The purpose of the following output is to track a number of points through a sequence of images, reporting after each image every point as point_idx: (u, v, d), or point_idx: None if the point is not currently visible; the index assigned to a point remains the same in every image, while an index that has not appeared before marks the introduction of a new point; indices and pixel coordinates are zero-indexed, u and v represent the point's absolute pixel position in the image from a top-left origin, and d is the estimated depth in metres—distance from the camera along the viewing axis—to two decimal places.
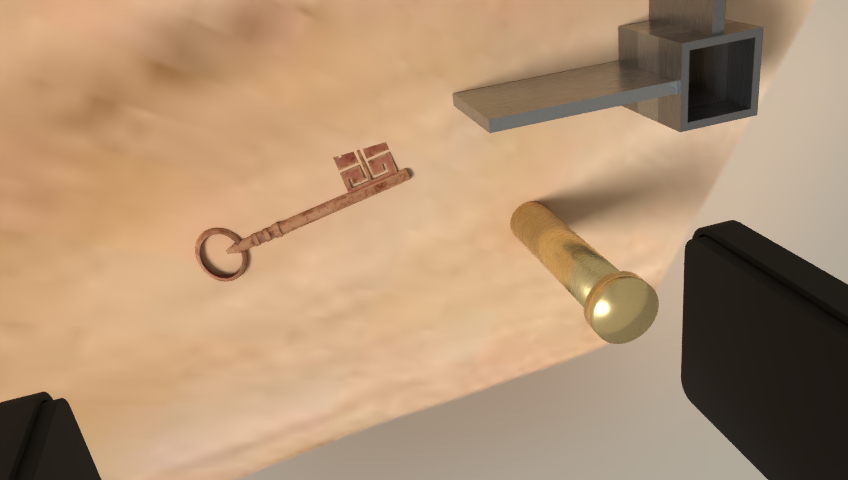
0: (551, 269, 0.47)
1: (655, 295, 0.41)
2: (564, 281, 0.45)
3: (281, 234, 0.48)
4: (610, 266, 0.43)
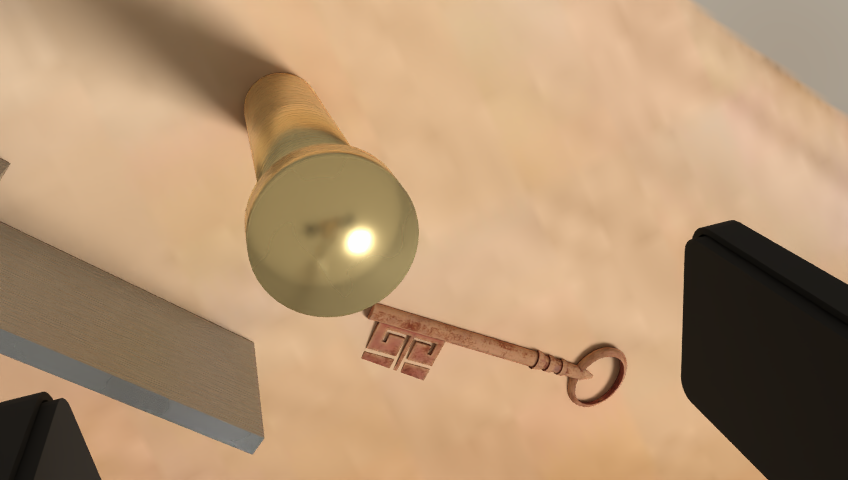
0: None
1: (253, 224, 0.16)
2: None
3: (539, 359, 0.37)
4: None
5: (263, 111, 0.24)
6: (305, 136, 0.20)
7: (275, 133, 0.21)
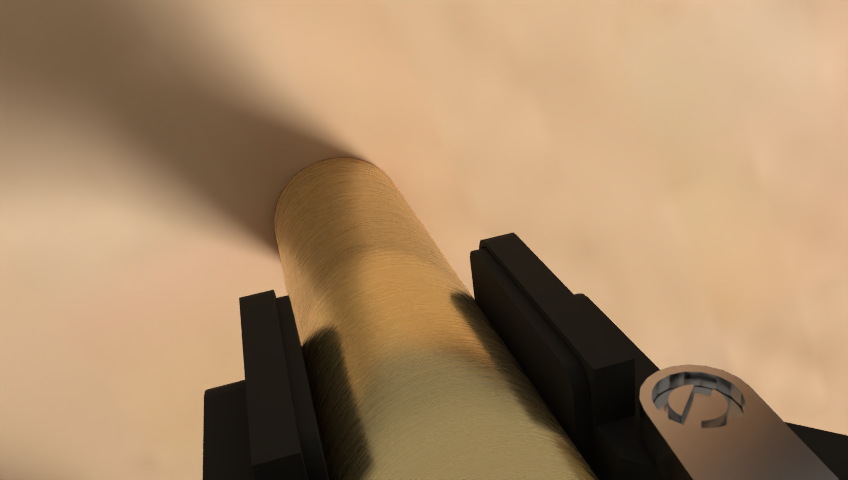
0: None
1: None
2: None
3: None
4: None
5: (327, 278, 0.12)
6: (477, 452, 0.07)
7: (378, 396, 0.09)
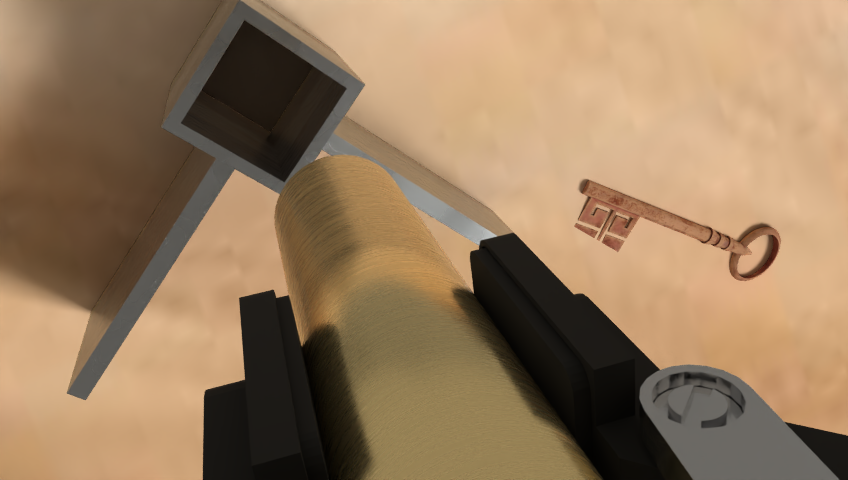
0: None
1: None
2: None
3: (712, 234, 0.44)
4: None
5: (327, 274, 0.11)
6: (478, 446, 0.07)
7: (379, 391, 0.09)
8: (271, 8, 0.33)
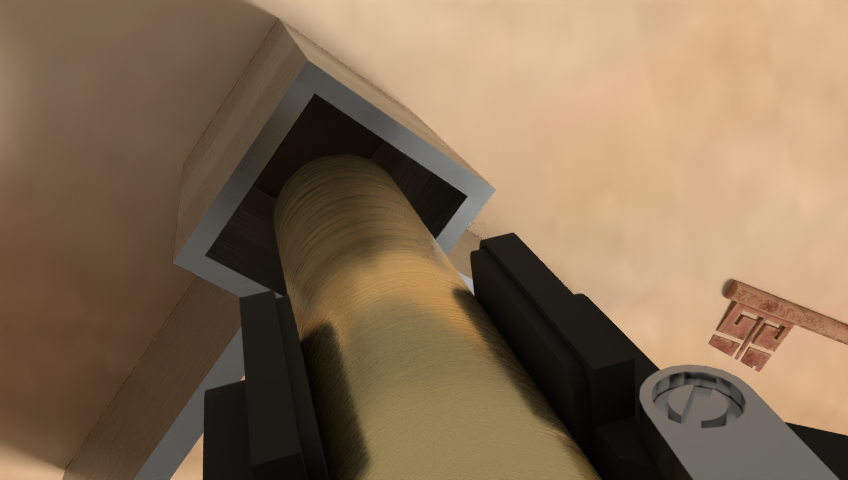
0: None
1: None
2: None
3: None
4: None
5: (326, 274, 0.11)
6: (477, 446, 0.07)
7: (377, 390, 0.08)
8: (332, 57, 0.22)
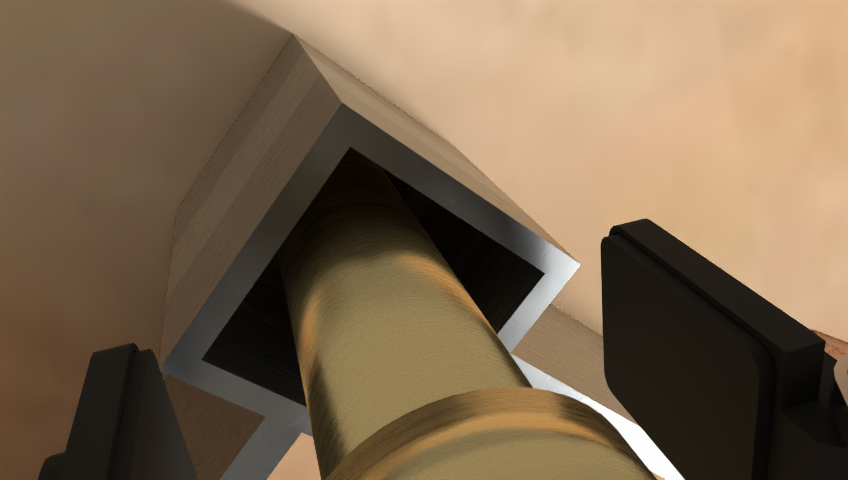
0: None
1: None
2: None
3: None
4: None
5: None
6: (402, 307, 0.10)
7: (335, 281, 0.11)
8: (358, 80, 0.18)
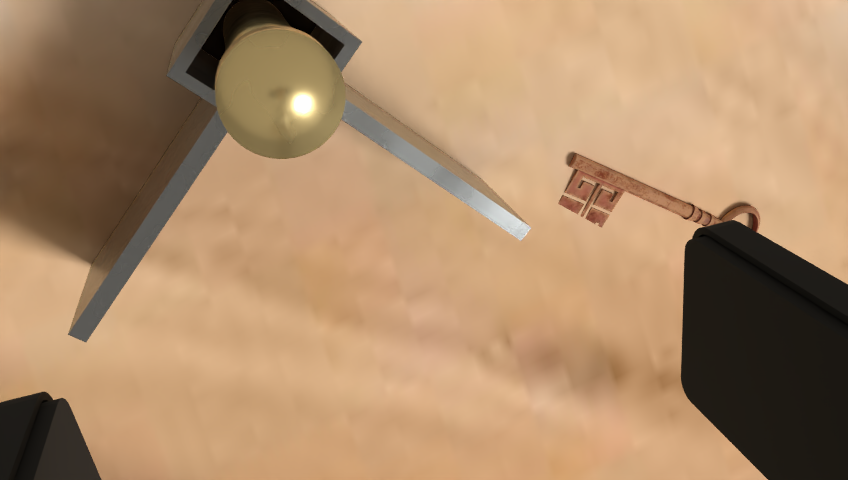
0: None
1: (219, 80, 0.22)
2: None
3: (694, 210, 0.46)
4: None
5: (236, 21, 0.30)
6: None
7: (242, 31, 0.27)
8: None
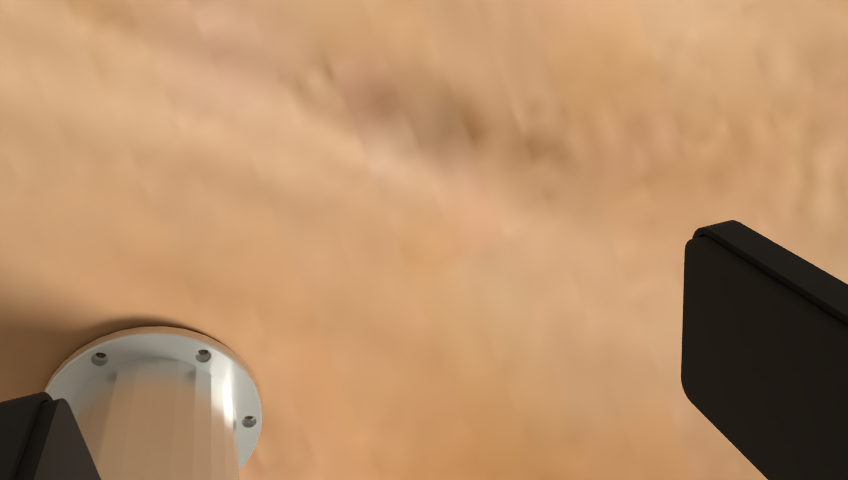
0: None
1: None
2: None
3: None
4: None
5: None
6: None
7: None
8: None
